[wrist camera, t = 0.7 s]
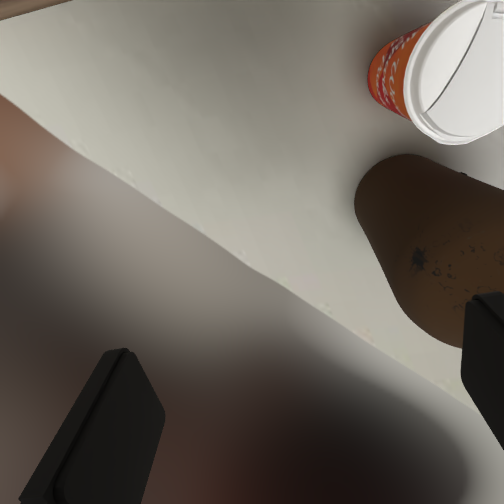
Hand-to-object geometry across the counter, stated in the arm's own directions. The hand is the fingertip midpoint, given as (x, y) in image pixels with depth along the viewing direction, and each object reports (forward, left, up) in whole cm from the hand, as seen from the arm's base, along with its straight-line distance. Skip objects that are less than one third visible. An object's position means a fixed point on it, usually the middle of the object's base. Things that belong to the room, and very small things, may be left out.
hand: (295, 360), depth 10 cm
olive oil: (+7, +12, -29) cm, 32 cm away
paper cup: (-5, +12, -29) cm, 31 cm away
